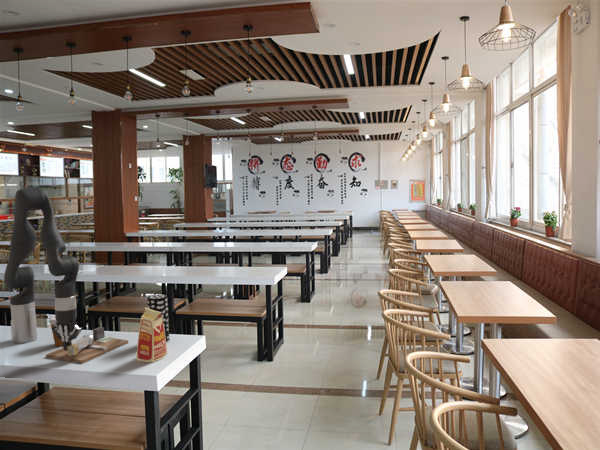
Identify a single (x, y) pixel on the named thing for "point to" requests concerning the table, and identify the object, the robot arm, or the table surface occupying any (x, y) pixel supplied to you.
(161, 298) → the spotted tube
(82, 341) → the swing bar
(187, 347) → the table surface
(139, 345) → the milk carton
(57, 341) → the disposable coffee cup
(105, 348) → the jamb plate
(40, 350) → the table surface
